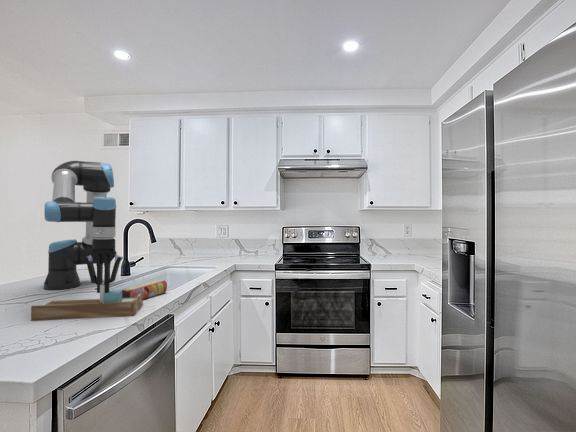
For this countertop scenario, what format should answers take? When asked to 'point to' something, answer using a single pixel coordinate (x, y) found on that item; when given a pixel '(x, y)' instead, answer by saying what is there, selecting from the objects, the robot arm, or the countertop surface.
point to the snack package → (146, 289)
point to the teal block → (112, 296)
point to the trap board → (86, 309)
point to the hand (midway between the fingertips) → (103, 301)
